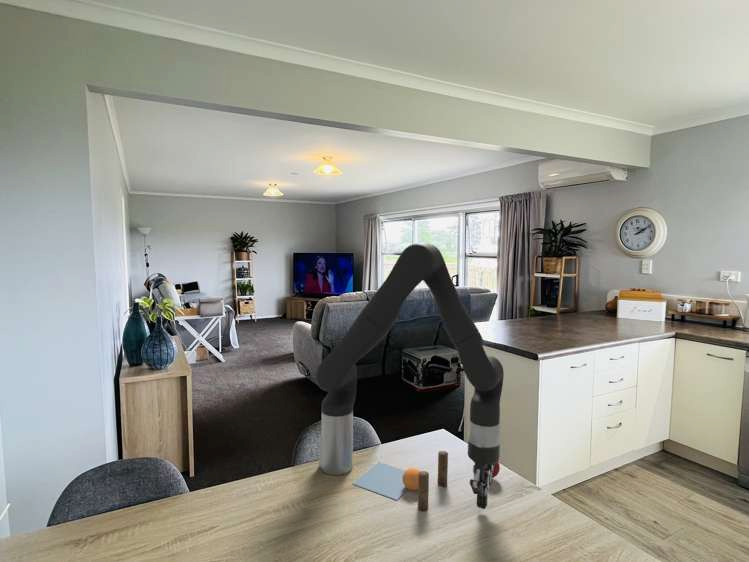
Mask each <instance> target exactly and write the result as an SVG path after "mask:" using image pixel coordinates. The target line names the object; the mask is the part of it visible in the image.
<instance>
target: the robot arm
mask: <svg viewBox="0 0 749 562" xmlns="http://www.w3.org/2000/svg"><path fill="white" fill-rule="evenodd" d="M422 281H423V282H424V283H425V284H426V286H427V287H428V289H429V290H430V292H431V294H432V296H433V298H434V300H435V303H436V305H437V309H438V313H439V316H440V320H441V323H442V326H443V328H444V330H445V332H446V334H447V335H448V337H449V340H450V341H451V343H452V344H453V346H454V348H455V350H456V351H457V354H458V358H459V361H460V363H461V366H462V369H463V372H464V374H465V377H466V379H467V380H468V382H469V383H470V384H471V385H472V386H473V388H474V390H473V391H474V393H473V396H472V397H471V400H470V403H469V404H470V406H469V423H468V428H467V429H468V430H467V432H468V437H467V456H468V458H469V459H470V460H471V461H472V462H473V463H474V464H473V465H472V473H473V479H472V478H471V479H470V480H469V485H470V488H471V490H472V493H473V495H476V506H477V508H479V509H483V510H485V509H486V508H487V506H488V494H489V493H488V492H489V491H490V487H491V485H492V480H493V478H492V476H493V471H494V466H495V463H496V462H499V460H500V456H501V455H500V449H501V426H500V423H501V422H500V420H501V419H500V417H501V415H500V414H501V405H500V404H501V396H502V391H503V385H504V367H503V364H502V363H501V361H500V360H499V359H498V358H497V357H495V356H494V355H487V353H486V351H485V349H484V339H483V336H482V334H481V333H480V331H479V329H478V326H477V325H476V324H475V323H474V320H473V318H472V317H471V315H470V314H469V311H468V310H467V308H466V307H465V305H464V303H463V301H462V299H461V297H460V295H459V293H458V291H457V288H456V286H455V284H454V282H453V280H452V276H451V275H450V273H449V270H448V267H447V264H446V262H445V259H444V257H443V255H442V252H441V251H440V249H439V248H438V247H437V246H436V245H434V244H431V243H421V242H420V243H413V244H410V245H408V246H407V247H406V248H404V249H403V251H402V252H401V253H400V255H399V257H398V258H397V259H396V262H395V264H394V265H393V267H392V269H391V271H389V274H388V276H387V277H386V279H385V280H384V281H383V283H382V284H381V285H380V287H379V288H378V289H377V290H376V292H375V293H374V294H373V296H372V297H371V299H370V300H369V301H368V302H367V304H365V306H363V308H362V310H361V311H360V313H359V314H358V315H357V317H356V319H355V320H354V321H353V323H352V324H351V325H350V327H349V328H348V330H347V331H346V333H345V334H344V335H343V337H342V338H341V339H340V341H339V342H338V344H337V345H336V346H335V347H334V348H333V350H331V352H330V353H329V354H327V356H326V357H325V358H324V359H323V360H322V361H321V362H320V364H319V365H318V367H317V368H316V373H315V382H316V384H317V386H318V388H320V389H321V390H322V391H325V392H327V394H326V396H325V397H324V398H323V399H322V402H321V434H319V436H318V467H319V468H321V470H322V471H323V472H324V473H325V474H329V475H331V476H332V475H334V476H339V475H344V474H347V473H349V472H351V470H352V469H353V465H354V464H353V461H354V456H353V453H354V452H353V451H354V450H353V449H354V404H355V402H356V396H357V385H358V384H357V380H358V371H357V366H356V364H357V362H358V361H359V360H361V359H362V358H363V357H364V356H365V355H366V354H368V353H369V352H371V350H372V349H374V348H375V347H376V346H378V344H379V343H380V342H382V340H383V339H384V338H385V337H386V336H387V335H388V333H389V332H390V331H391V329H392V328H393V327H394V326H395V323H396V322H397V320H398V318H399V316H400V313H401V310H402V308H403V305H404V303H405V301H406V299H407V298H408V296H409V295H410V294H411V293H413V291H414V289H416V287H417V286H418V285H419V284H420V283H421V282H422Z"/></svg>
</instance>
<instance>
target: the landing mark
mask: <svg viewBox="0 0 749 562" xmlns="http://www.w3.org/2000/svg"><path fill="white" fill-rule="evenodd" d="M405 471H406V469H403V468H399V467H396V466H393V465H389V464H386V463H383V462H380V461H378V462H377V463H376V464H374V465H373V466H372V467H371V468H370V469H368V470H367V471H366V472H365V473H363V474H362V475H361V476H360V477H358V479H355V481H353V482H352V485H354V486H356V487H359V488H362V489H363V490H364V489H365V490H367V491H370V492H373V493H375V494H378V495H381V496H383V497H386V498H389V499H391V500H395V501H398V500H400V498H401V497H402V496H403V495H404V494H405V493H406V492H407V491H408V490H409V489H408V488H406V487H405V485H404V484H403V479H402V478H403V474H404V472H405Z"/></svg>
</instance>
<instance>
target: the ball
mask: <svg viewBox="0 0 749 562" xmlns="http://www.w3.org/2000/svg"><path fill="white" fill-rule="evenodd" d="M419 472H420V470H419V469H418V468H416V467H409V468H408V469H405V472H404V474H403V478H402V479H403V484H404V485H405V487H406V488H408V490H409V491H418V473H419Z"/></svg>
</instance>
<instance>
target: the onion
mask: <svg viewBox="0 0 749 562" xmlns="http://www.w3.org/2000/svg"><path fill="white" fill-rule="evenodd" d="M500 468H501V467H500V463H499V461H498V462H496V463H495V466H494V471H493V476H492V479H493V478H495V477H497V476H498V474H499V473H500V470H501V469H500Z"/></svg>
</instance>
